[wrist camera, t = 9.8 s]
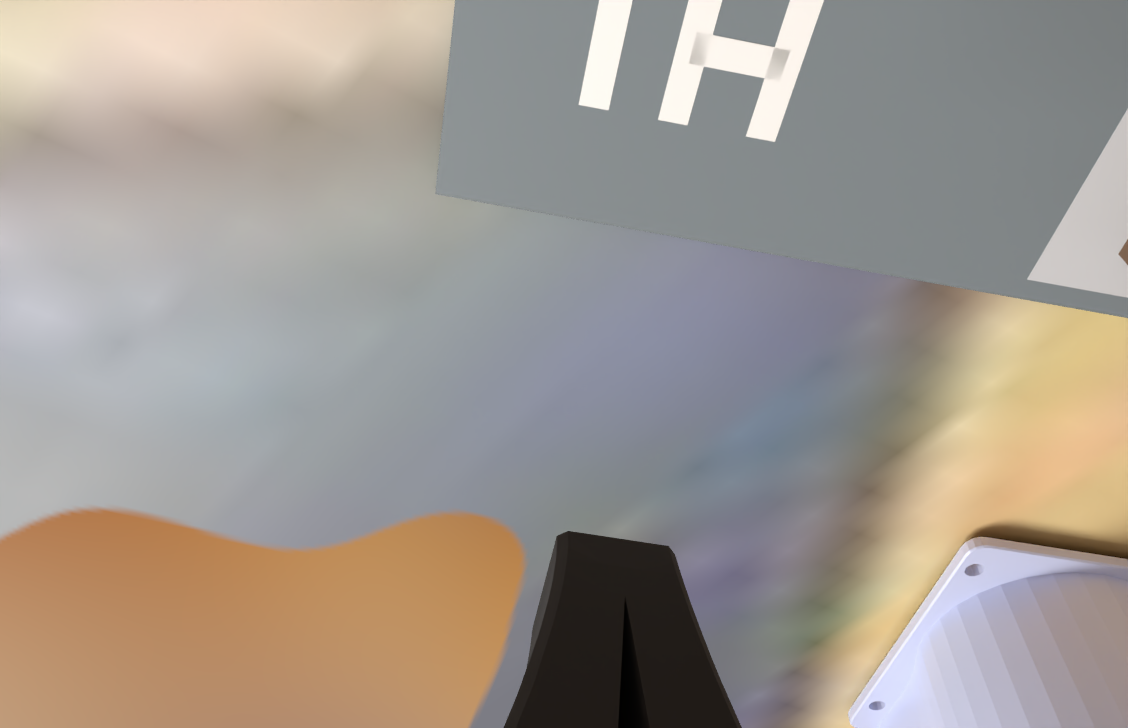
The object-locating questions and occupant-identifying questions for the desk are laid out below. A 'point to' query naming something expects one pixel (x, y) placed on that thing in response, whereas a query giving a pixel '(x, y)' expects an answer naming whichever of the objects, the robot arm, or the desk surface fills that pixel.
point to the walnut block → (1124, 252)
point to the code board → (813, 131)
